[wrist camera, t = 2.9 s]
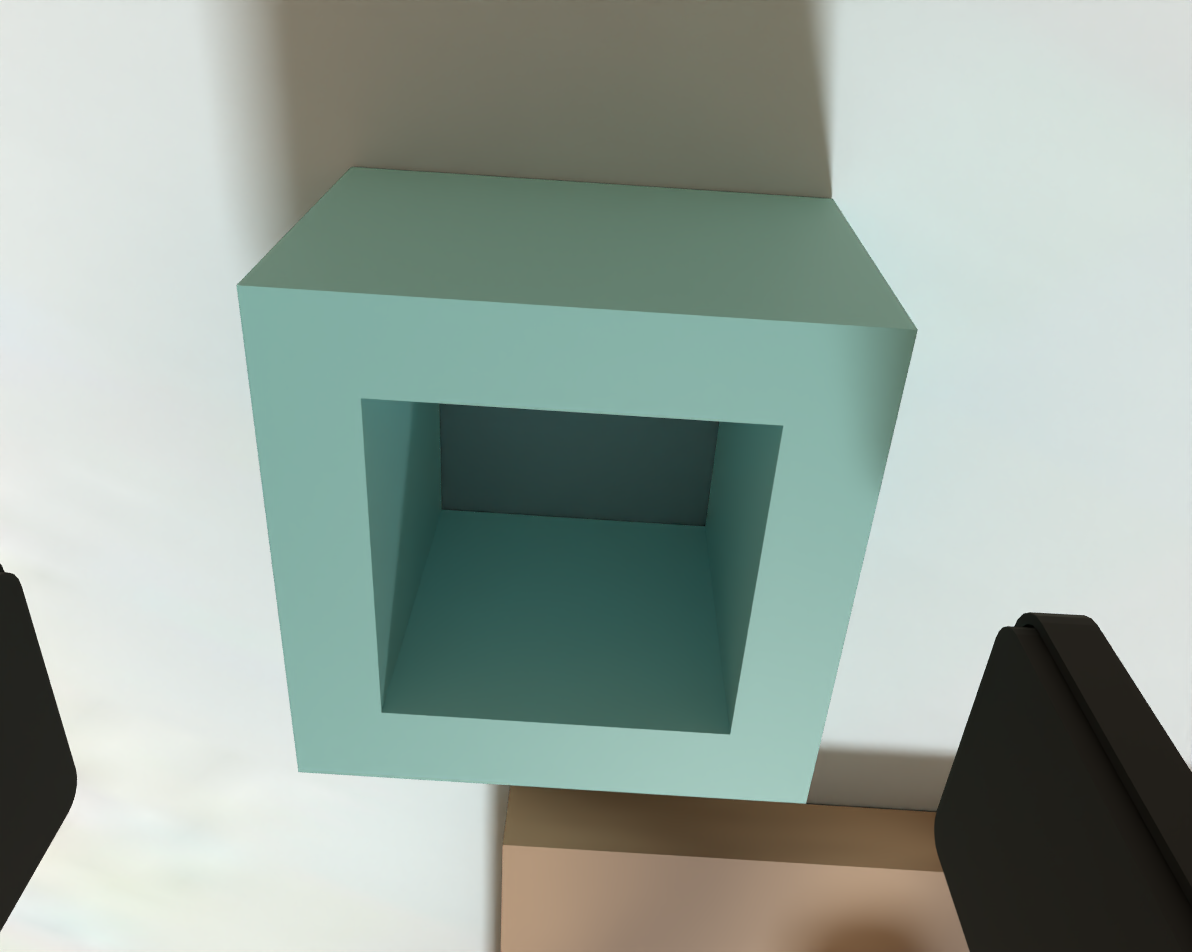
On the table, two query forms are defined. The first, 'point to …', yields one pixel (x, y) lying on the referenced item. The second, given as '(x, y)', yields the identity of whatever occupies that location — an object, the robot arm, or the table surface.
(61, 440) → the table surface
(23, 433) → the table surface
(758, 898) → the walnut board
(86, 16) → the table surface
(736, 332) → the teal collar
